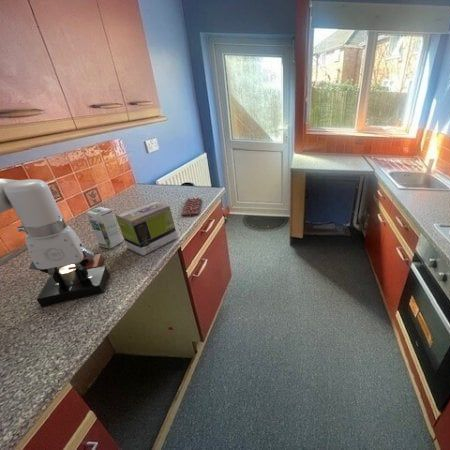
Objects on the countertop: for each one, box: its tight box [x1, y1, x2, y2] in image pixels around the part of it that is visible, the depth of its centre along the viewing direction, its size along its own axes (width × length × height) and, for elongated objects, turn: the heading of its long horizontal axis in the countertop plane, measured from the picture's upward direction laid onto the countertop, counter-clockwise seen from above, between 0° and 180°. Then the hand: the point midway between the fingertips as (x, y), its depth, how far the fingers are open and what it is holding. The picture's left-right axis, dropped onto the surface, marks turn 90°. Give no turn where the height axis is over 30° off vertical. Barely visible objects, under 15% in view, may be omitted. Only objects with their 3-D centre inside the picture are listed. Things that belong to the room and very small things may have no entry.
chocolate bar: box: [181, 197, 202, 217], centre depth 128 cm, size 7×19×2 cm, turn 15°
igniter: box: [60, 253, 104, 269], centre depth 83 cm, size 10×8×4 cm
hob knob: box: [58, 264, 81, 286], centre depth 73 cm, size 4×4×5 cm
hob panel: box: [36, 265, 109, 308], centre depth 75 cm, size 14×10×3 cm
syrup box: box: [86, 206, 124, 250], centre depth 94 cm, size 6×6×14 cm
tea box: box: [115, 200, 178, 256], centre depth 95 cm, size 15×10×15 cm, turn 152°
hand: (73, 280), depth 74 cm, fingers closed on hob knob, 4 cm apart
